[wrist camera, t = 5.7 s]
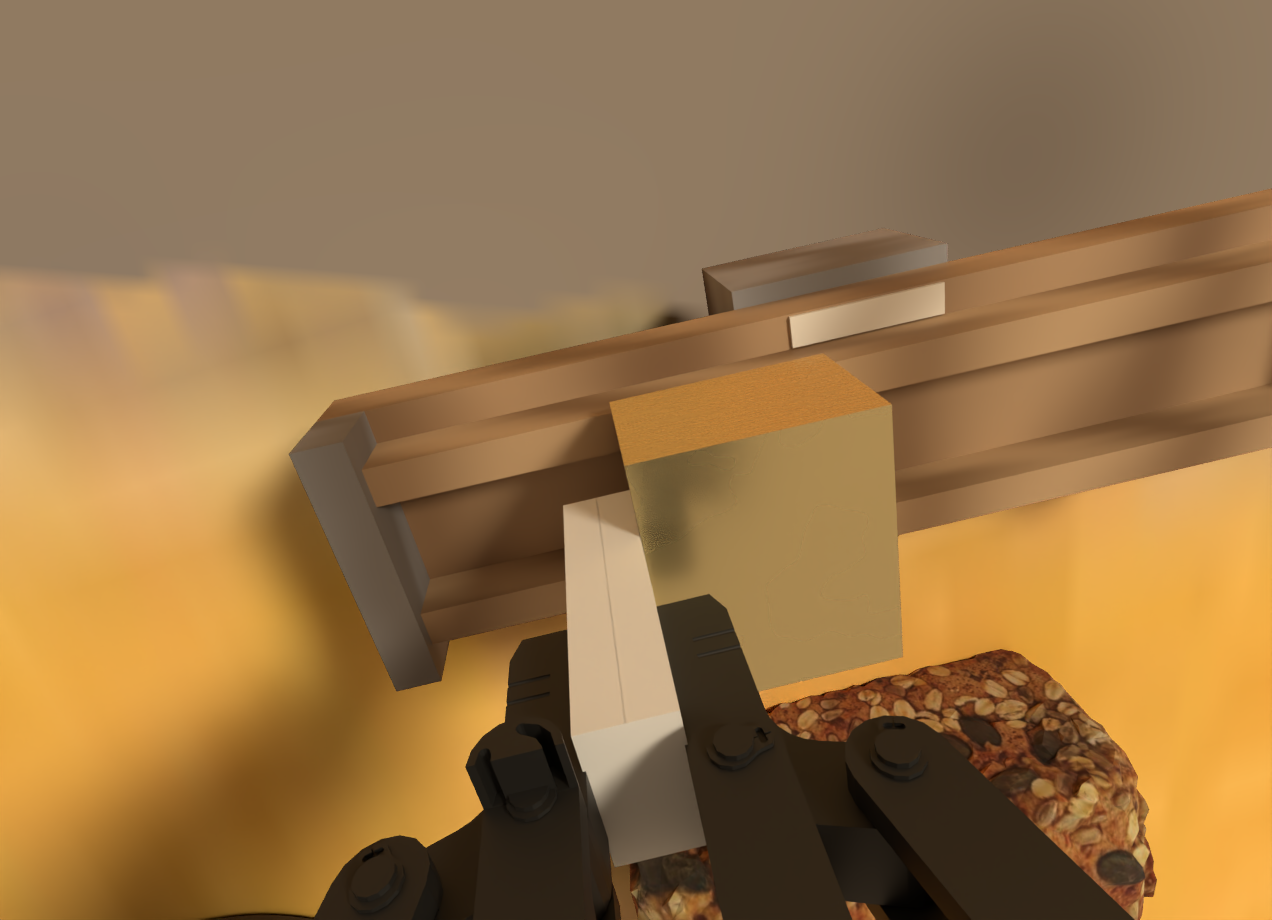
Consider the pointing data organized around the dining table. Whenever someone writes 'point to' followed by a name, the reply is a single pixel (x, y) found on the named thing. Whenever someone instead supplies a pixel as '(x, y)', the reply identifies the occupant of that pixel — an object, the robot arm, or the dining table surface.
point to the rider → (773, 511)
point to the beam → (861, 344)
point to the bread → (993, 743)
